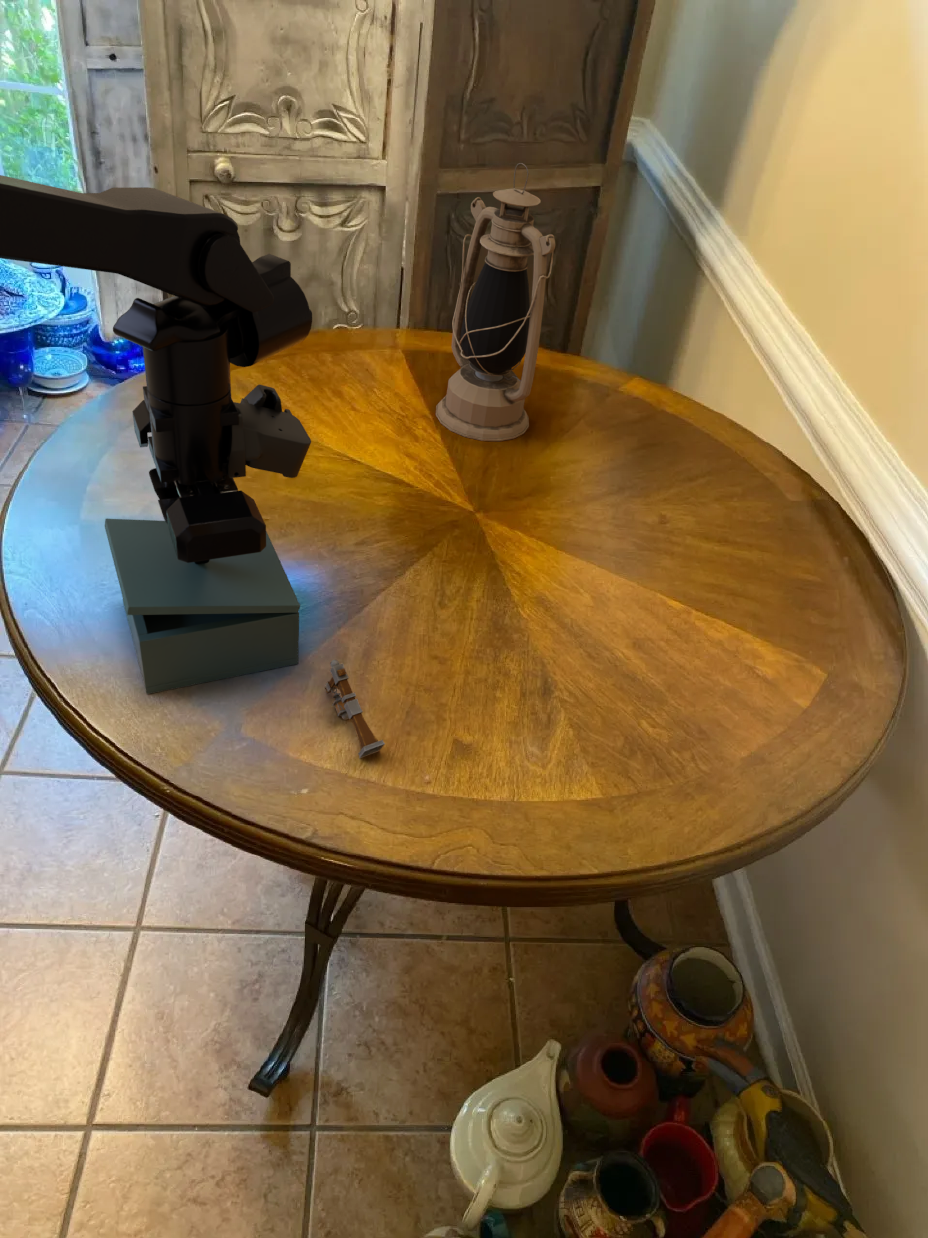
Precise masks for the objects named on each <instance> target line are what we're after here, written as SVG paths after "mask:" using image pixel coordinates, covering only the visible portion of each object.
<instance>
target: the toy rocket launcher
mask: <svg viewBox="0 0 928 1238" xmlns="http://www.w3.org/2000/svg"><path fill="white" fill-rule="evenodd" d="M330 667H331V668H330V669H329V672H330V673H331V678H330V680H329V681H327V682H326V683H325V686H324V690H325V692H326V694H329V693H333V694H334V695H333V697H332V699H334V701H333V703H332V704H331V706H332V707H335V710H336V713H337V717H341V719H342V720H345V721H346V720H348V719H349V720H351V722H352V725H353V727H354V729H355V733H356V736H357V738H358V742H359V745H360V751H359V752H358V753H357V754H358V759H361V758H365V757H367V756H369V755H373V754H375V753H377V752H380V751H381V750H382V749H383V747H384V746H385V745H386V743H385V742H384V739H380V740H379V739H377V737H376V736H375V735H374V733H373V731H372V730H371V728H370V727H369V724H368V723H367V721H366V720H365V717H364V715H363V713H364V710H363V709H362V707H361V705H360V703H359V699H358V697H357V695H356V692H353V689H352V687H351V684H350V682H349V679H350V677H349V675H348V674H347V671H346V668H345V665H344V663H343V662H342V663H340V662H339V660H337V659H333V660H331V661H330ZM338 690H339V692H338ZM356 697H357V698H356Z"/></svg>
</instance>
